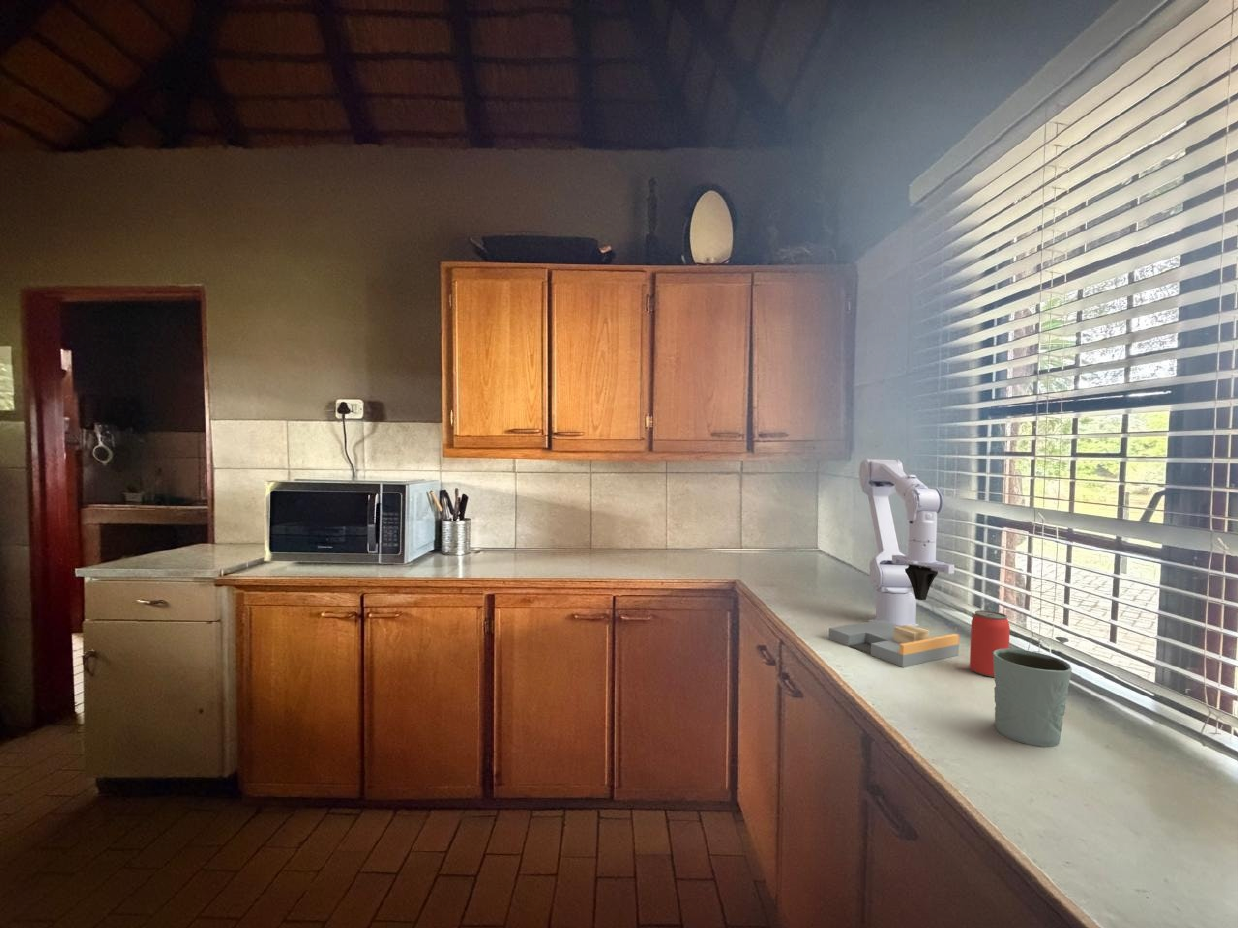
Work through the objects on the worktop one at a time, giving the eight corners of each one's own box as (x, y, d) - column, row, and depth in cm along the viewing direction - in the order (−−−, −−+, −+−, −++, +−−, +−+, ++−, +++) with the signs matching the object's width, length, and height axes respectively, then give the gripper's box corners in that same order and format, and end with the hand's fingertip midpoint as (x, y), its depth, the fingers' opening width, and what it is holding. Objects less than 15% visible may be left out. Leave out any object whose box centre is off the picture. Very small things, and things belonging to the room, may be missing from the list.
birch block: (908, 637, 134) (909, 624, 134) (929, 644, 130) (929, 630, 130) (893, 640, 132) (894, 626, 132) (913, 647, 127) (914, 633, 127)
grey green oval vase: (976, 724, 97) (979, 651, 97) (1016, 715, 101) (1019, 644, 101) (1041, 754, 88) (1044, 674, 87) (1083, 742, 92) (1086, 665, 91)
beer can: (972, 675, 119) (975, 615, 119) (967, 664, 125) (969, 607, 125) (1011, 680, 116) (1013, 619, 116) (1003, 669, 122) (1006, 611, 122)
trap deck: (881, 629, 148) (882, 611, 148) (958, 655, 130) (959, 635, 130) (828, 638, 140) (829, 619, 140) (902, 667, 122) (903, 645, 122)
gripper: (883, 537, 142) (882, 593, 142) (940, 546, 129) (938, 608, 129) (903, 536, 145) (902, 591, 145) (961, 544, 132) (959, 605, 132)
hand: (920, 599), depth 138 cm, fingers closed
